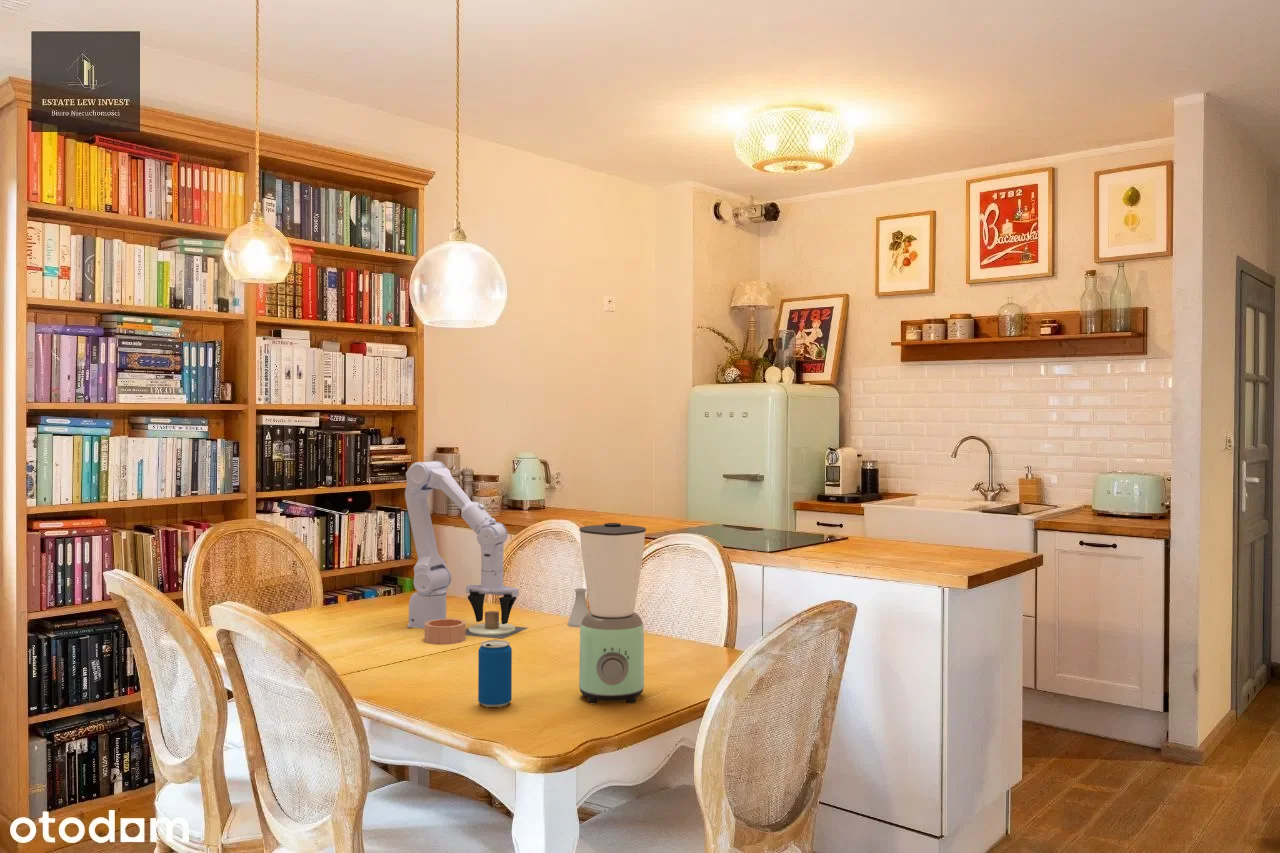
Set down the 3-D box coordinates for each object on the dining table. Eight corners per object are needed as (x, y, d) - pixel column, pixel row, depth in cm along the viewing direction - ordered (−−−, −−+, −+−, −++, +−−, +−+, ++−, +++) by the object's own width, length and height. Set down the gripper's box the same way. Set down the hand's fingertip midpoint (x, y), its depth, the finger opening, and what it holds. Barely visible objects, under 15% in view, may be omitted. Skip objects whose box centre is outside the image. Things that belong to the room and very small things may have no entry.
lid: (459, 633, 256) (459, 615, 255) (483, 624, 267) (483, 606, 267) (501, 637, 251) (501, 618, 251) (523, 627, 263) (523, 609, 263)
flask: (595, 623, 271) (595, 587, 271) (591, 629, 264) (592, 591, 264) (569, 622, 272) (569, 586, 271) (564, 628, 264) (565, 591, 264)
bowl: (416, 643, 246) (416, 625, 246) (438, 635, 255) (438, 617, 255) (451, 647, 243) (452, 628, 243) (472, 638, 252) (473, 620, 252)
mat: (454, 635, 255) (454, 634, 255) (481, 624, 268) (481, 623, 268) (502, 640, 250) (502, 638, 250) (528, 629, 263) (528, 627, 263)
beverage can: (479, 699, 198) (479, 639, 198) (512, 699, 199) (512, 639, 199) (476, 709, 192) (477, 647, 192) (510, 708, 192) (511, 646, 192)
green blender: (648, 708, 193) (649, 528, 193) (578, 709, 192) (580, 528, 192) (640, 682, 212) (641, 518, 212) (577, 683, 211) (578, 518, 211)
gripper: (459, 570, 258) (459, 623, 258) (509, 574, 253) (509, 627, 253) (473, 566, 264) (473, 617, 264) (522, 570, 259) (522, 622, 259)
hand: (492, 622), depth 259 cm, fingers open, 7 cm apart
